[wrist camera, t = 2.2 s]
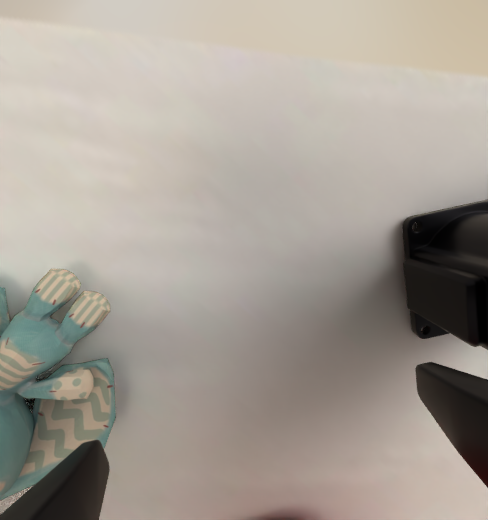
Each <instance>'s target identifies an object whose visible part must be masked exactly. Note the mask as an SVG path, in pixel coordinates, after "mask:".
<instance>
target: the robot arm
mask: <svg viewBox="0 0 488 520" xmlns="http://www.w3.org/2000/svg"><path fill="white" fill-rule="evenodd" d="M415 222H416V224H417V228H416V229H415V230H414V231H413V229H412V226H413V224H414V223H415ZM402 229H403V240H404V251H405V262H404V275H405V285H406V296H407V306H408V308H409V309H410V315H411V326H412V331H413V333H414V334H415V335H417V336H418V337H420V338H422V339H427V338H431V337H436V336H440V335H444V334H448V333H451V334H452V335H454V336H456V337H458V338H459V339H461V340H463V341H464V342H466V343H468V344H470V345H471V346H474V347H477V346H482V347H484V348H485V349H487V350H488V200H484V201H479V202H474V203H470V204H465V205H461V206H456V207H452V208H447V209H442V210H438V211H433V212H429V213H424V214H419V215H415V216H411V217H408V218H407V219H406V220H405V221H404V223H403V227H402ZM423 326H425V329H424V330H423V331H421V329H422V327H423ZM416 382H417V391H418V394H419V397H420V399H421V400H422V402H423V403H424V405H425V406H426V407H427V409H428V410H429V412H430V413H431V415H432V416H433V417H434V419H435V420H436V422H437V423H438V425H439V426H440V427H441V429H442V430H443V432H444V433H445V435H446V436H447V437H448V439H449V440H450V442H451V443H452V444H453V446H454V447H455V448H456V450H457V451H458V453H459V454H460V455H461V456H462V457H463V459H464V460H465V461H466V462H467V464H468V465H469V466H470V467H471V468H472V469H473V471H474V472H475V473H476V474H477V475H478V477H479V478H480V479H481V480H482V481H483V483H484V484H485V485H486V486H487V487H488V380H487V379H483V378H480V377H477V376H474V375H471V374H468V373H464V372H461V371H458V370H455V369H452V368H449V367H446V366H442V365H439V364H436V363H433V362H428V363H423V364H419V365H417V366H416ZM108 476H109V462H108V459H107V457H106V454H105V451H104V449H103V446H102V443H101V442H100V440H97V439H96V440H92V441H87V442H84V443H82V444H81V445H80V446H78V447H77V448H76V449H75V450H74V451H73V452H72V453H70V454H69V455H68V456H67V457H66V458H65V459H64V460H62V461H61V462H60V463H59V464H58V465H57V466H56V467H55V468H53V469H52V470H51V471H50V472H49V473H48V474H47V475H45V476H44V477H43V478H42V479H41V480H40V481H39V482H37V483H36V484H35V485H34V486H33V487H32V488H31V489H29V490H28V491H27V492H26V493H25V494H24V495H23V496H22V497H20V498H19V499H18V500H17V501H16V502H15V503H14V504H12V505H11V506H10V507H9V508H8V509H7V510H6V511H4V512H3V513H2V514H1V515H0V520H99V516H100V512H101V507H102V503H103V498H104V494H105V489H106V485H107V480H108Z"/></svg>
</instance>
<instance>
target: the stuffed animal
mask: <svg viewBox="0 0 488 520" xmlns="http://www.w3.org/2000/svg"><path fill="white" fill-rule="evenodd" d="M80 285H81V283H80V282H79V280H78V279H77V277H76V276H75V275H74V274H73V273H71V272H69V271H67V270H64V269H50V270H49V272H48V273H47V274H46V275H45V276H44V277H43V278H42V279H41V280H40V282H39V283H38V284H37V285H36V286H35V288H34V289H33V291H32V294H31V296H30V298H29V301H28V303H27V305H26V307H25V308H24V310H23V311H21V312H20V313H18V314H16V315H15V316H14V318H13V319H12V321H11V322H10V318H9V312H8V307H7V302H6V295H5V288H1V287H0V500H2V499H4V498H6V497H9V496H11V495H13V494H15V493H17V492H19V491H22V490H24V489H26V488H28V487H30V486H33V485H35V484H36V483H37V482H39V481H40V480H41V479H42V478H43V477H44V476H45V475H47V474H48V473H49V472H50V471H51V470H52V469H53V468H55V467H56V466H57V465H58V464H59V463H60V462H61V461H62V460H64V459H65V458H66V457H67V456H68V455H69V454H70V453H72V452H73V451H74V450H75V449H76V448H77V447H78V446H80V445H81V444H82V443H84V442H87V441H92V440H96V439H97V440H100V442H101V443H102V446H103V449H104V447H105V445H106V442H107V439H108V437H109V434H110V431H111V428H112V426H113V423H114V420H115V418H116V414H115V391H114V374H113V370H112V368H111V366H110V363H109V361H108V359H107V358H105V359H99V360H94V361H90V362H85V363H78V364H70V365H62V366H61V367H60V368H59V369H57V370H56V371H55V372H54V373H53V374H52V375H50V376H49V377H48V378H47V379H44V380H41V381H36V377H37V376H38V375H39V374H41V373H43V372H45V371H47V370H49V369H50V368H51V367H53V366H54V365H56V364H57V363H58V362H60V361H61V360H62V359H63V358H64V357H65V356H66V355H68V354H69V353H70V352H71V350H72V348H73V345H74V344H75V343H76V342H77V341H78V340H79V339H81V338H82V337H84V336H86V335H87V334H89V333H90V332H92V331H93V330H94V329H95V328H96V327H97V326H98V325H99V324H100V323H101V322H102V320H103V319H104V318H105V317H106V316H107V314H108V313H109V312H110V305H109V303H108V300H107V299H106V298H105V297H104V296H103V295H101V294H99V293H97V292H92V291H83V292H82V294H81V295H80V296H79V297H78V298H77V299H76V301H75V302H74V303H73V305H72V306H71V308H70V309H69V311H68V312H67V314H66V316H65V318H64V319H63V321H62V323H59V322H58V321H57V320H54V319H52V318H50V315H52V314H53V313H54V312H55V311H57V310H58V309H59V308H61V307H62V306H63V305H64V304H65V303H67V302H68V301H69V300H70V299H71V298H72V297H73V296H74V295H75V294H76V292H77V291H78V290H79V289H80ZM23 397H25V398H28V399H31V398H35V402H34V407H33V413H31V411H30V409H29V408H28V406H27V404H26V401H25V399H24V398H23Z"/></svg>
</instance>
